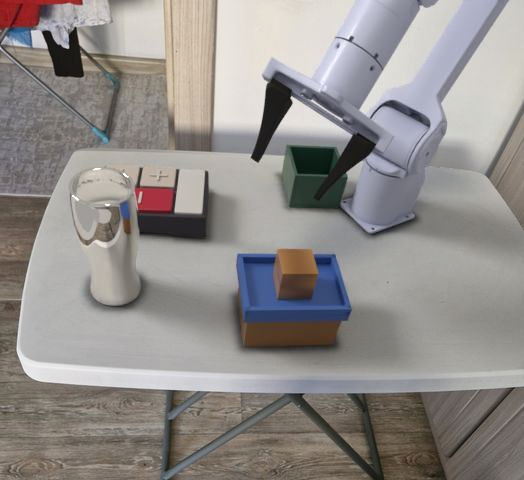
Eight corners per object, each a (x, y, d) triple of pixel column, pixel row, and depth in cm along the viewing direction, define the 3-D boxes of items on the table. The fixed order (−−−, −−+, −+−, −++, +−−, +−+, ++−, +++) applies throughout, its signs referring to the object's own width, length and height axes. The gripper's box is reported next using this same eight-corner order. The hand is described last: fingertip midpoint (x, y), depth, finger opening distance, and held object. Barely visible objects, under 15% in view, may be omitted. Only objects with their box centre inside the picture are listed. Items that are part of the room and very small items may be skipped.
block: (305, 274, 62) (312, 248, 59) (311, 299, 60) (318, 273, 57) (272, 274, 62) (277, 248, 59) (277, 299, 59) (282, 273, 56)
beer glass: (143, 268, 68) (136, 165, 56) (145, 307, 64) (137, 206, 52) (87, 269, 67) (67, 165, 55) (86, 310, 63) (64, 207, 51)
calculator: (103, 160, 75) (208, 165, 76) (108, 186, 79) (209, 190, 80) (89, 208, 68) (205, 213, 70) (95, 234, 72) (206, 238, 73)
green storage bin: (328, 177, 86) (336, 146, 82) (339, 208, 81) (348, 177, 77) (281, 175, 85) (286, 144, 80) (288, 207, 80) (294, 175, 76)
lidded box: (323, 294, 69) (335, 254, 64) (337, 347, 64) (352, 309, 58) (232, 294, 67) (237, 253, 62) (239, 350, 62) (245, 310, 56)
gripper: (293, 0, 48) (219, 137, 51) (426, 87, 48) (344, 217, 52) (297, 26, 55) (231, 146, 58) (414, 102, 55) (342, 216, 59)
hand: (285, 180), depth 56 cm, fingers open, 7 cm apart
